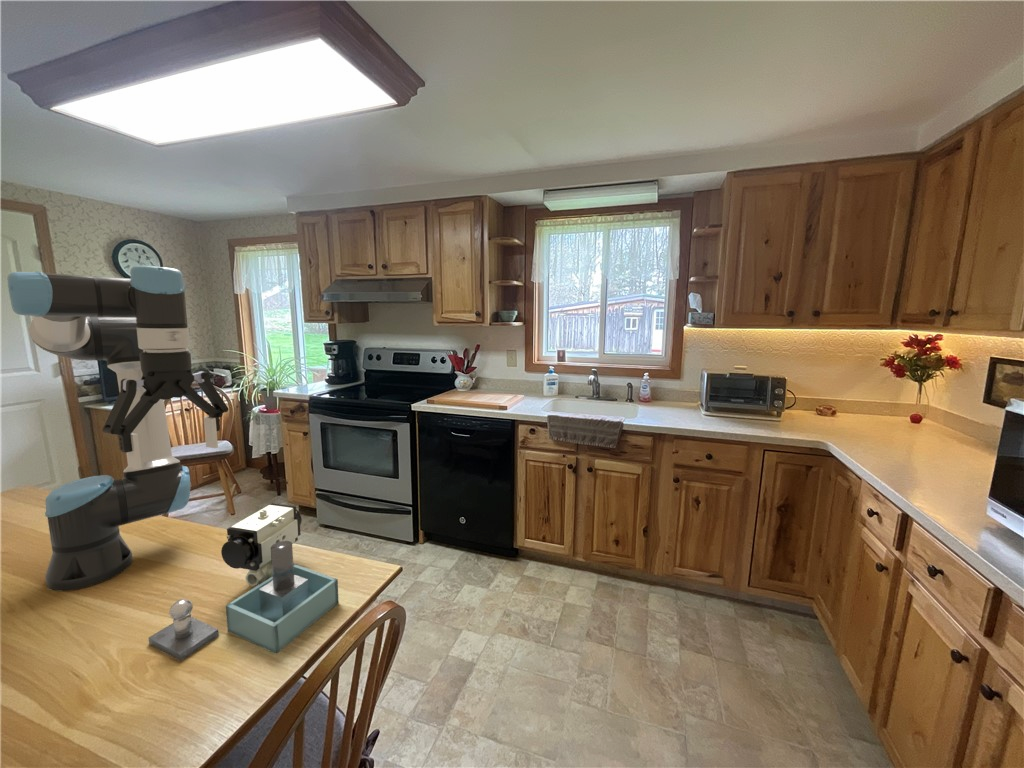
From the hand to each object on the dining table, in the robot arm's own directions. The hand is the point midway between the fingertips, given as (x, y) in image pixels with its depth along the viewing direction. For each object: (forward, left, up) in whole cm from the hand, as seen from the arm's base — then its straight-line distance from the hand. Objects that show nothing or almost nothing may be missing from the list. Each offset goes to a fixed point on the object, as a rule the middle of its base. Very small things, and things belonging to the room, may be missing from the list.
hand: (176, 456), depth 82 cm
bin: (+16, +9, -37) cm, 41 cm away
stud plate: (+4, -4, -37) cm, 37 cm away
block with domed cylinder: (+16, +9, -36) cm, 41 cm away
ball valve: (+1, +17, -37) cm, 41 cm away
